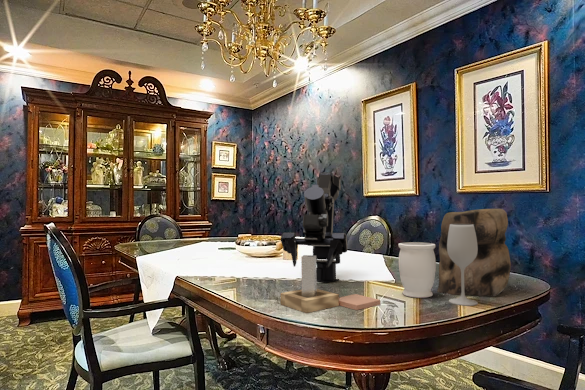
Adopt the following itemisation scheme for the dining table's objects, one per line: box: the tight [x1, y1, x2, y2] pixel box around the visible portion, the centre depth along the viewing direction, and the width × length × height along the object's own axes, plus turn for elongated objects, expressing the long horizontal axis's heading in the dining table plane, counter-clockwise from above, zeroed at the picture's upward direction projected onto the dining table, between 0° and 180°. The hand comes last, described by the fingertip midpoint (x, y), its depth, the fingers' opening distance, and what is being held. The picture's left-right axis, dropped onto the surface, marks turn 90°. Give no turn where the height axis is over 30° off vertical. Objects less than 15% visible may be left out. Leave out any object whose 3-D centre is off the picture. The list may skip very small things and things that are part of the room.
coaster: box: [339, 293, 381, 311], centre depth 106 cm, size 9×9×1 cm
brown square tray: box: [280, 288, 340, 314], centre depth 105 cm, size 11×11×3 cm
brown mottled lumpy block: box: [436, 208, 512, 297], centre depth 122 cm, size 20×20×25 cm
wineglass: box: [447, 224, 479, 307], centre depth 107 cm, size 8×8×21 cm
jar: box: [398, 241, 437, 299], centre depth 116 cm, size 11×10×15 cm
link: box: [300, 254, 318, 298], centre depth 106 cm, size 3×3×13 cm
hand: (310, 266), depth 108 cm, fingers open, 9 cm apart
